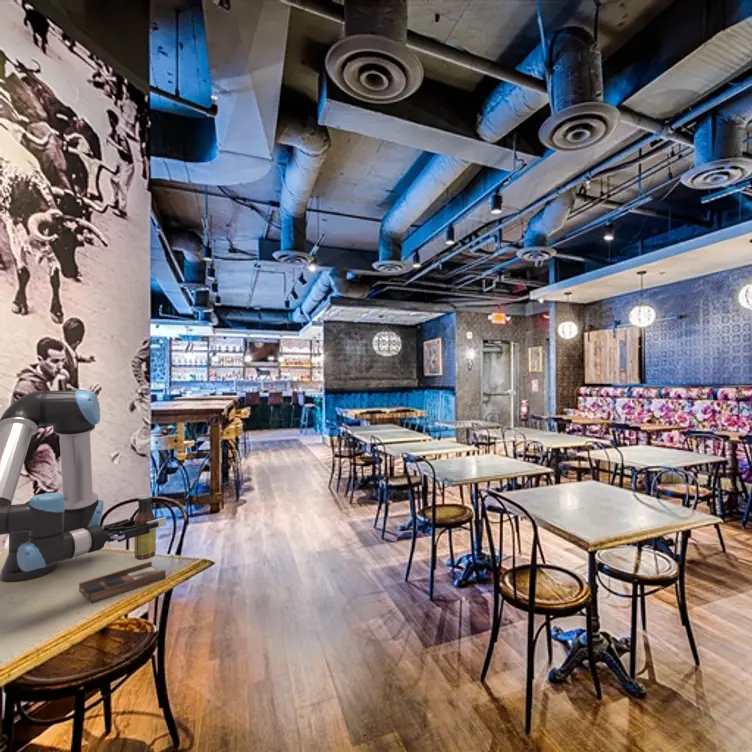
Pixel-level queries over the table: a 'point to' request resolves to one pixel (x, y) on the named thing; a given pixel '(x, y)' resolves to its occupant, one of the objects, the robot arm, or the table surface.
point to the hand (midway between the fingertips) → (159, 519)
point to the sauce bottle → (146, 542)
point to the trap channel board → (120, 582)
